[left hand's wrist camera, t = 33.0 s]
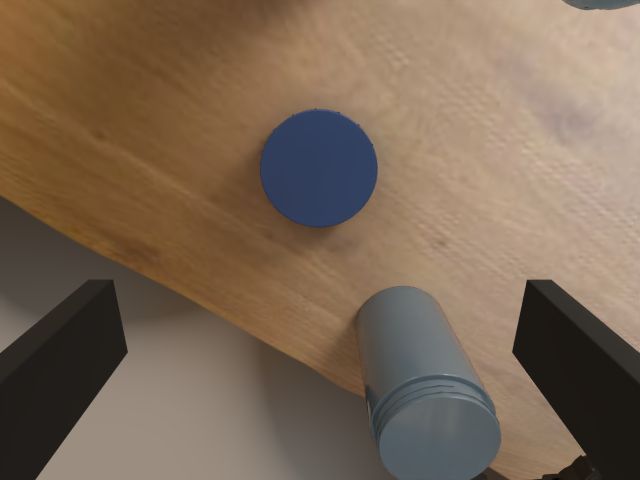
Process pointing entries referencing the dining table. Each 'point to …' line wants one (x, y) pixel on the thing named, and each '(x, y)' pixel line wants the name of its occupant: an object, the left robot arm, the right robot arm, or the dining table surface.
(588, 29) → the dining table surface
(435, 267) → the dining table surface
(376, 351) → the jar
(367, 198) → the lid
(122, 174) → the dining table surface
